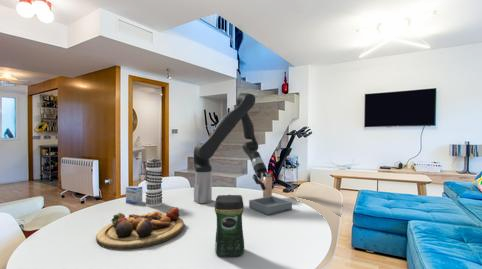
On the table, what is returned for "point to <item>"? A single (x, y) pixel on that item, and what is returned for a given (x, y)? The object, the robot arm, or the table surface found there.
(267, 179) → the cup
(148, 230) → the wooden plate with food
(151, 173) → the model tower building
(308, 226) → the table surface
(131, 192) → the medicine box
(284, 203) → the tray
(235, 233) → the coffee jar
